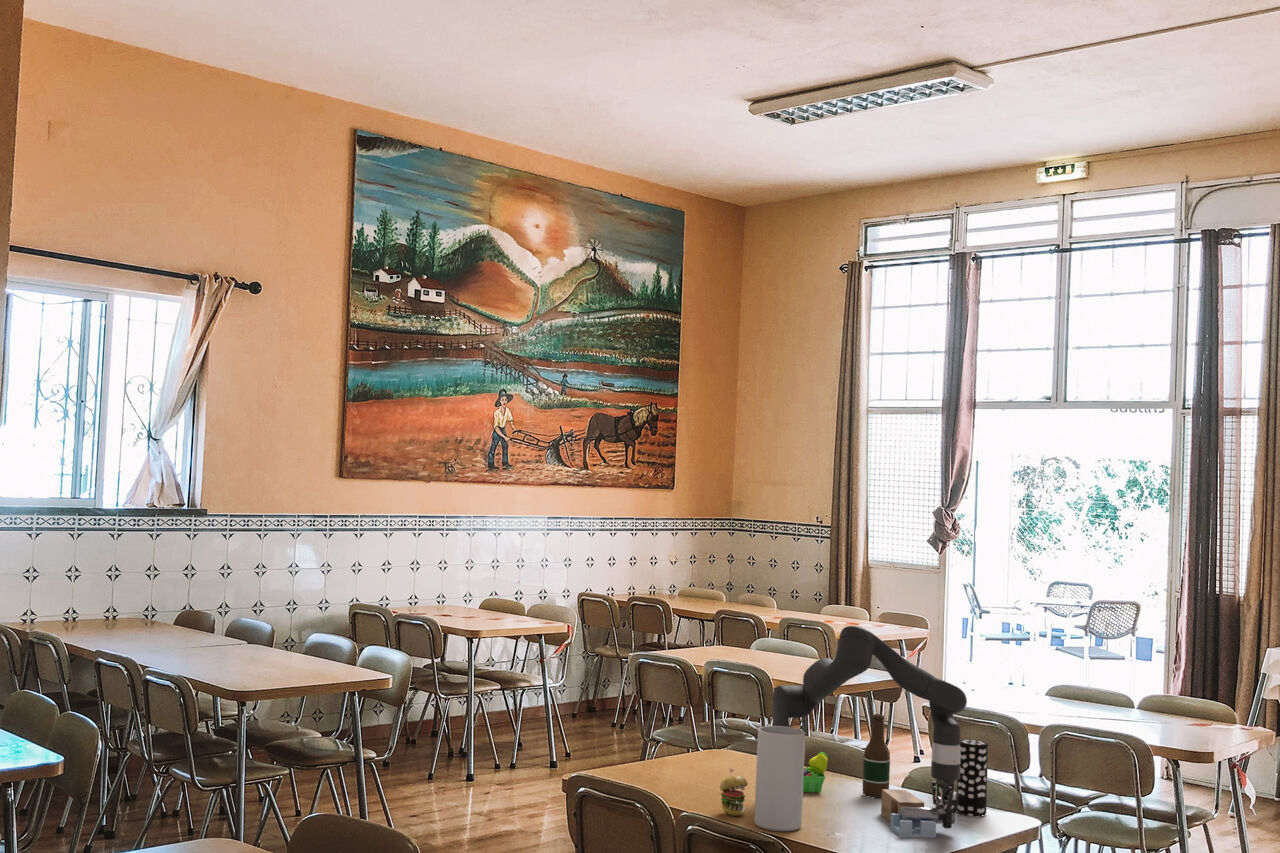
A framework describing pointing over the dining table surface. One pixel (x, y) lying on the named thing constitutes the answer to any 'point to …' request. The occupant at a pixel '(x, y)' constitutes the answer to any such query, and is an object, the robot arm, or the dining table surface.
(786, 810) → the cylinder vase
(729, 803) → the hamburger
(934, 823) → the cradle
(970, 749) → the spotted tube
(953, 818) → the axle
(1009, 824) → the dining table surface
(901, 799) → the beam
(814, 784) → the fruit basket
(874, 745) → the beer bottle
